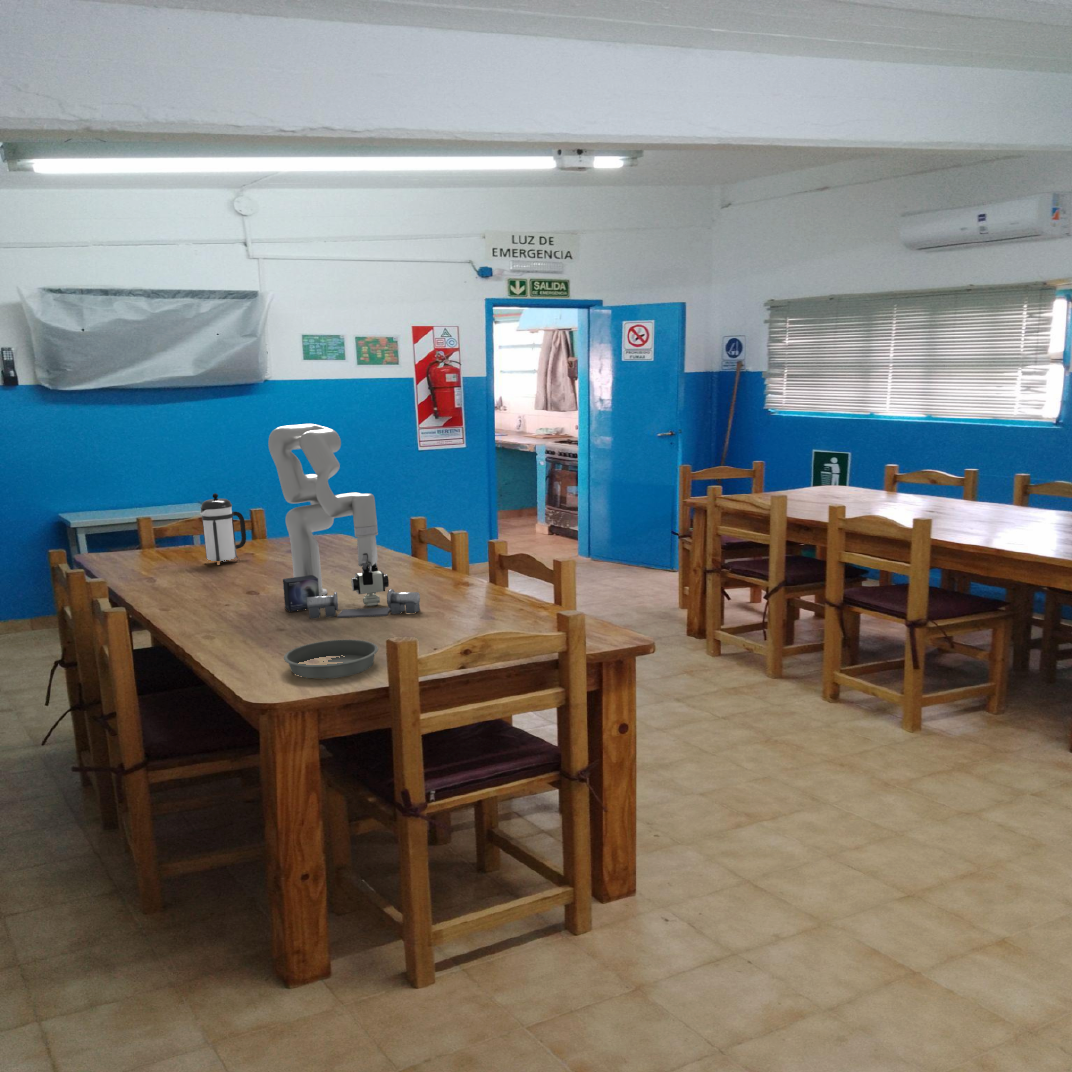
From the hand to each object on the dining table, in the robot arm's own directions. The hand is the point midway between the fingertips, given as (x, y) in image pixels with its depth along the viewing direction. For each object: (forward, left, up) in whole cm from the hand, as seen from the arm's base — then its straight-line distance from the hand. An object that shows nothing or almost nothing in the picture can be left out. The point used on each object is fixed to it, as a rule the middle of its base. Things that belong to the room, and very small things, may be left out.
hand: (371, 581), depth 343 cm
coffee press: (-82, +95, -8) cm, 126 cm away
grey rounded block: (+13, -12, -8) cm, 20 cm away
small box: (-24, -1, -8) cm, 25 cm away
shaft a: (-14, -12, -8) cm, 20 cm away
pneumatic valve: (-1, 0, -8) cm, 8 cm away
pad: (-1, -12, -8) cm, 14 cm away
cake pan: (+2, -72, -8) cm, 72 cm away
